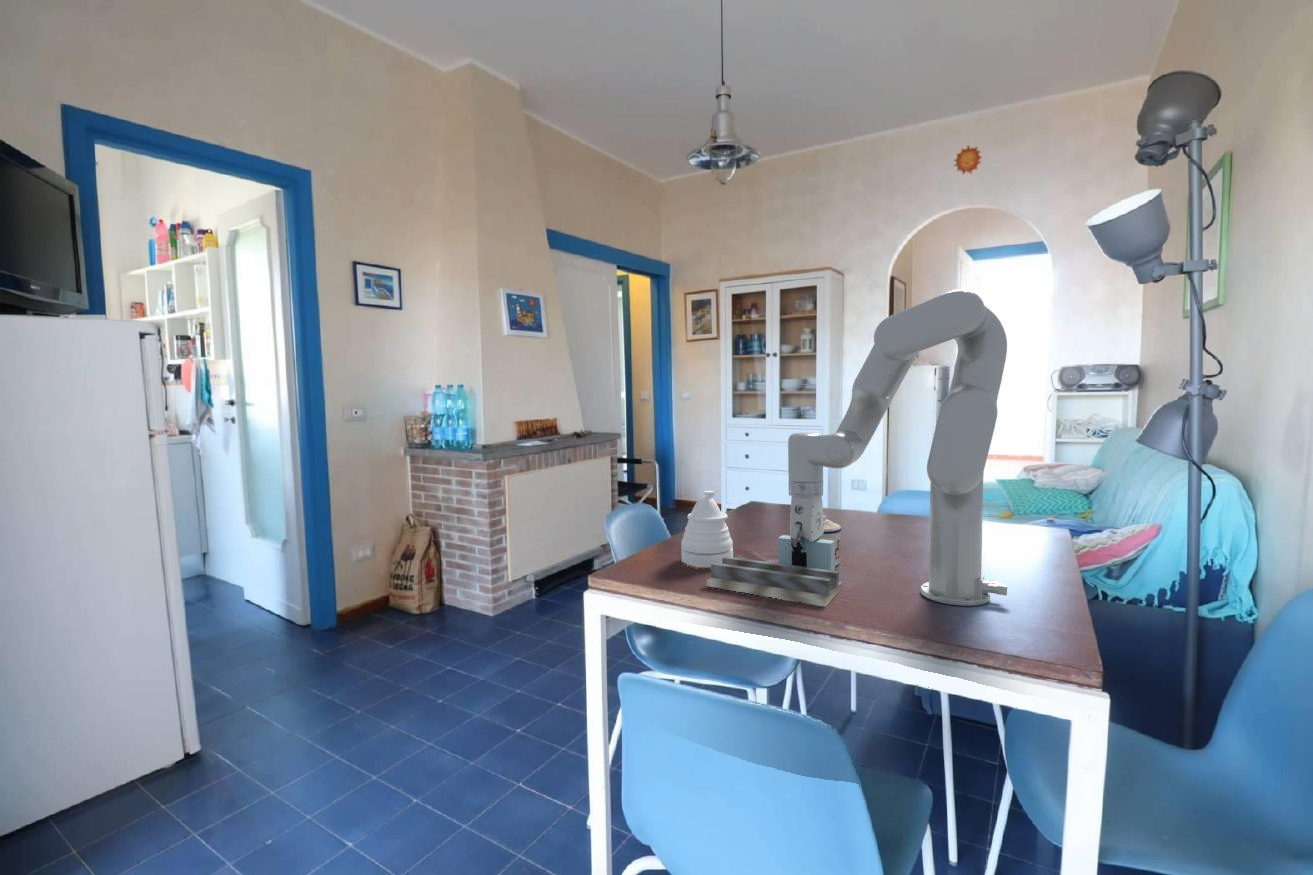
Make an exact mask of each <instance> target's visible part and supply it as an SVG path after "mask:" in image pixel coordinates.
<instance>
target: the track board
mask: <svg viewBox="0 0 1313 875" xmlns="http://www.w3.org/2000/svg"><path fill="white" fill-rule="evenodd" d="M839 574H840V571H838V570H835V571H832V570H825V569H817V568H810V567H802V566H795V565H787V564H780V563H777V562H772V561H771V562H770V561H764V560H763V561H762V560H755V559H748V558H742V557H734V556H733V557H727V556H725V557H723V558H722V564H721V563H712V564H711V569H710V576H711V577H709V578H708V579H706V581H705V582H706V584H705V585H706V586H710V587H719V588H723V589H727V590H732V591H736V592H735V593H738V592H745V593H750V594H754V595H753V596H756V595H759V596H758V597H762V596H763V598H768V597H772V598H771V599H775V598H777V600H781V599H782V601H786V602H787V601H788V602H794V603H799V602H801V603H800V604H806V605H811V606H812V605H813V606H818V607H823V608H825V607H826V606H828V605H829V603H830V602H831V601H832V600H833V599H834V598H835V597H836V596H837V595H838V593H840V592H841V590H843V582H842V581H840V577H839ZM732 591H731V592H732ZM750 594H749V595H750Z"/></svg>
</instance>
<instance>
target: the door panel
mask: <svg viewBox="0 0 1313 875" xmlns="http://www.w3.org/2000/svg"><path fill="white" fill-rule="evenodd" d="M790 536H791V535H787V534H785V535H784V534H782V535H780V536H778V538H777V541H778V542H777V549H778V551H777V553H778V556H777V558H778V560H777V561H778V563H780V564H787V565H792V551H791V547H792V546H791V538H790ZM799 538H802V537H799ZM800 544H801V546H802V542H800ZM805 552H807V567H810V568H817V569H825V570H832V571H836V566H835V541H834V540H825V539H816V540H815V541H813V542H809V541H808V540H807V544H806V549H805Z"/></svg>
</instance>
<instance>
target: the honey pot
mask: <svg viewBox="0 0 1313 875" xmlns="http://www.w3.org/2000/svg"><path fill="white" fill-rule="evenodd" d="M703 493H704V495H702V496H700V498H699V499H698V500H697V501H696V502H695V504H694V506H693V508H692V510H691V512H690V513H688V515H686V516H687V520H688V521H687V523H686V526H685V528H684V530H685V531H684V532H683V538H682V539H681V545H680V547H681V552H680V553H681V563H682V562H685V563H687V564H689V565H692V566H696V567H711V564H712V563H721V564H722V558H723V557H725V556H727V557H734V549H733V547H734V546H733V543H734V542H733V539H732V538H731V534H730V532H729V527H728V525H727V524H726V521H725V520H727V519H728V517H729V516H728V514H727V513H726V512H723V511H721V509H720V507H719V505H718V504H717V502H716V501H715V500H714V499H713V498H714V497H715V494H716V493H715V490H704V491H703Z"/></svg>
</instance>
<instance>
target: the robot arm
mask: <svg viewBox="0 0 1313 875" xmlns="http://www.w3.org/2000/svg"><path fill="white" fill-rule="evenodd" d="M1007 339H1008V338H1007V335H1006V332H1005V328H1004V326H1003V324H1002V322H1001V320H1000V319H999V318H998V317H997V315H996V314H995V313H994V312H993V311H991V309H989V307H987V306H986V305H985V303H984V301H983V299H982V298H981V297H980V296H979V295H978V294H977V293H975V292H973V291H971V290H969V289H953V290H950V291H948V292H945V293H943V294H940V295H937V296H935V297H933V298H931V299H928V300H925V301H922V302H920V303H918V304H916V305H913V306H911V307H908V308H907V309H903V310H901V311H899V312H897V313H893V314H891V315H889V316H887V317H885V318H884V319H883V320H881V321H880V322H879V324H878V325H877V326H876V328H875V330H874V334H873V343H874V344H873V346H872V347H871V350H870V351H869V353H868V354H867V357H866V359H865V360H864V363H862V366H861V368H860V371H859V372H858V374H857V375H856V377H855V379H854V382H853V384H852V387H851V388H852V389H851V400H850V403H849V405H848V407H847V411H846V412H845V415H844V416H843V418H842V420H841V422H840V424H839V426H838V428H837V429H836V431H835V432H834V433H831V434H830V433H829V434H822V435H821V434H820V433H817V432H794V433H791V434H790V435H789V437H788V440H787V444H788V445H787V447H788V448H787V453H788V454H787V455H788V456H787V461H788V465H787V466H788V479H787V480H788V495H789V497H791V501H790V514H789V517H790V518H789V528H790V529H789V534H790V535H789V536H790V538H791V546H792V547H791V551H792V565H795V566H802V567H807V552H805V549H806V544H807V540H808V541H809V542H813V541H815V540H816V539H820V536H822V535H823V533H824V520H823V515H824V508H823V506H824V505H823V504H824V503H823V496H824V467H825V468H830V469H840V470H841V469H845V468H848V467H849V466H851V465H852V464H853V463H855V462H856V461H857V460H860V458H861V457H862V455H863V454H864V452H865V450H866V449H867V447H868V445H869V444H870V441H871V440H872V439H873V436H874V435H875V433H876V431H877V429H878V427H879V426H880V423H881V422H882V419H883V418H884V416H885V414H886V412H888V409H889V407H890V405H891V403H892V401H893V399H894V398H895V395H896V394H897V391H899V388H900V386H901V384H902V383H903V381H904V380H905V377H906V376H907V374H908V372H909V370H910V368H911V367H912V365H913V363H914V362H915V359H917V356H918V355H919V352H922V351H924V350H927V349H931V348H932V347H935V346H937V345H941V344H943V343H946V342H949V341H951V340H955V342H956V345H957V356H956V360H955V364H954V369H953V375H952V379H951V383H950V387H949V391H948V393H947V395H946V396H945V398H944V399H943V401H942V402H941V405H940V408H939V412H938V416H937V420H936V425H935V429H934V433H933V438H932V443H931V445H930V446H931V447H930V450H929V455H928V458H927V464H926V473H927V477H928V479H929V482H930V487H929V488H930V490H929V491H930V492H929V539H928V540H929V541H928V542H929V547H928V548H929V550H928V551H929V554H928V556H929V557H928V558H929V559H928V560H929V561H928V562H929V564H928V571H929V572H928V581H927V582H924V583H923V584H921V586H920V593H921V595H922V596H923V597H925V598H926V599H929V600H931V601H933V602H938V603H941V604H945V605H952V606H960V607H961V606H962V607H963V606H964V607H966V606H967V607H970V606H971V607H974V606H981V605H985V604H987V603H989V602H990V600H991V594H995V595H1000V596H1008V585H1006V584H1002V583H1001V582H998V581H988V579H985V573H984V572H983V573H982V569H983V568H982V566H983V565H982V561H983V560H982V558H983V556H982V555H983V517H984V516H983V512H984V508H983V507H984V504H983V503H984V471H985V467H986V463H987V460H988V456H989V451H990V448H991V443H992V439H993V435H994V432H995V428H996V423H997V419H998V406H997V405H998V404H997V403H998V398H999V394H1000V393H999V392H1000V389H1001V384H1002V379H1003V375H1004V370H1005V365H1006V361H1007V353H1008V340H1007ZM799 537H802V538H799ZM800 542H802V546H801V544H800Z"/></svg>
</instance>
